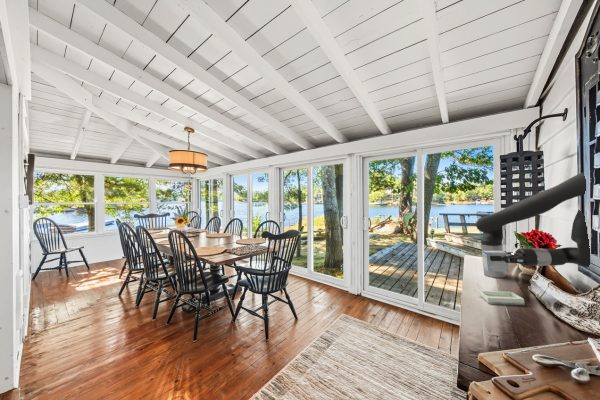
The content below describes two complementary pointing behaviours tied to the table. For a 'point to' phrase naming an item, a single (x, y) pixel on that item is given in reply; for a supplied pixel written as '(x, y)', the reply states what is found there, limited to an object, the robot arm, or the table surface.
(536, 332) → the table surface
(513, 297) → the tray
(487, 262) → the medicine box
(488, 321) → the table surface
